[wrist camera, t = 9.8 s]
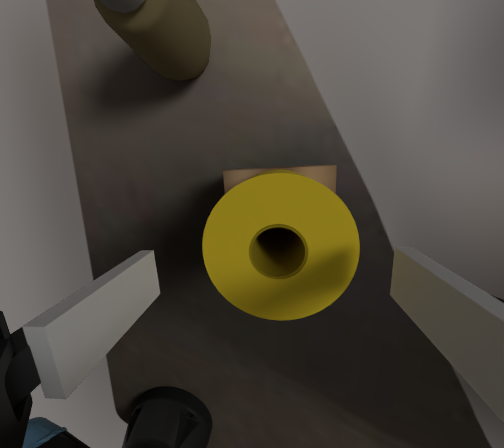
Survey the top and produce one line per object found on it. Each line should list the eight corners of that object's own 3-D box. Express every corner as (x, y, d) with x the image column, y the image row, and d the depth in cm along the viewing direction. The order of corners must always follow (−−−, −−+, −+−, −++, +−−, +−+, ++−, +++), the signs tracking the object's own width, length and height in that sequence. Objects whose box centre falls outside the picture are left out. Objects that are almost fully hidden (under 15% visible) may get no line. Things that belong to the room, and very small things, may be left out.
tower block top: (237, 256, 31) (230, 271, 26) (231, 169, 28) (222, 170, 24) (324, 255, 29) (332, 271, 25) (327, 164, 27) (336, 165, 22)
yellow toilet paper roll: (307, 152, 22) (327, 144, 13) (341, 245, 24) (380, 294, 15) (214, 193, 24) (176, 210, 15) (252, 276, 26) (239, 336, 17)
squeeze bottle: (189, 104, 31) (74, 30, 13) (143, 54, 30) (-45, -94, 12) (232, 52, 29) (163, -116, 11) (184, -3, 28) (28, -277, 10)
